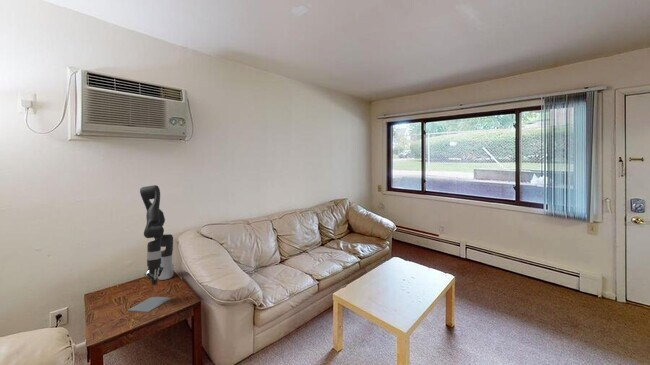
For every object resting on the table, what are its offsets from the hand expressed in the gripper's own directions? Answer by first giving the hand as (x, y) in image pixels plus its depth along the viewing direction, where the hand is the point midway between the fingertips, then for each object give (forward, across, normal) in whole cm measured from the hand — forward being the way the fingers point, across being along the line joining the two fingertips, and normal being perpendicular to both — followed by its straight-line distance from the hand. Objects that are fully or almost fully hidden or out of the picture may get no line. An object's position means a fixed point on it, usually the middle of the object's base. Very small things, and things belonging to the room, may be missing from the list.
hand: (154, 284), depth 160 cm
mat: (+11, +3, 0) cm, 11 cm away
